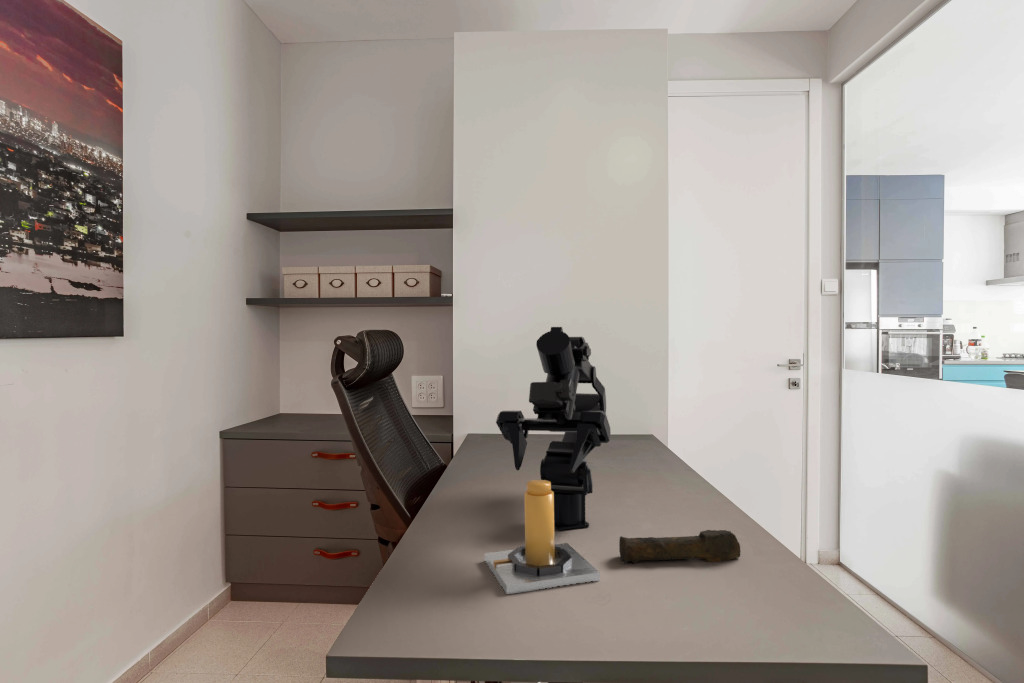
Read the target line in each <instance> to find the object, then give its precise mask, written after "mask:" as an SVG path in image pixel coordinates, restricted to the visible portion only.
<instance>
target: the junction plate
mask: <svg viewBox="0 0 1024 683" xmlns="http://www.w3.org/2000/svg"><path fill="white" fill-rule="evenodd" d="M554 544H555V543H554ZM485 561H486V562H485ZM484 562H485V564H486V563H487V564H488V565H487V564H486V565H487V567H488V566H489V567H488V569H489V570H490V569H491V570H490V572H491V573H492V572H493V573H492V575H493V574H494V575H495V576H494V575H493V576H494V578H495V577H496V578H497V579H496V578H495V579H496V581H497V580H498V581H499V582H498V581H497V582H498V584H499V583H500V584H499V585H500V587H501V586H502V587H503V588H502V587H501V588H502V590H503V589H504V590H503V591H504V593H505V594H506V595H512V594H518V593H520V594H521V593H525V592H527V593H528V592H533V591H539V589H540V590H546V589H545V588H547V589H553V588H558V587H557V586H560V587H564V586H563V585H567V586H570V585H569V584H573V585H577V584H576V583H580V584H585V582H587V583H592V582H591V581H593V582H599V580H600V581H601V579H600V578H601V575H600V574H601V573H600V571H599V570H598V569H597V568H596V567H595V566H593V565H592V564H591V563H590V562H589V561H588V560H587V559H585V558H584V556H582V555H581V554H580V553H579V552H578V551H576V549H575V548H573V547H572V546H571V545H570V544H569V543H567V542H565V543H564V542H563V543H558V544H557V543H556V544H555V564H551V565H543V566H535V565H530V564H526V561H525V545H521V546H518V547H516V548H515V549H509V550H508V549H507V550H501V551H493V552H485V553H484ZM552 587H553V588H552Z"/></svg>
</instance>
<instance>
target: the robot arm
mask: <svg viewBox="0 0 1024 683" xmlns="http://www.w3.org/2000/svg"><path fill="white" fill-rule="evenodd" d="M536 348H537V351H538V352H537V353H538V356H539V360H540V363H541V367H542V371H543V372H544V373H545V374H546V379H545V381H532V382H530V386H529V395H528V402H529V403H530V404H531V405H533V408H532V411H533V413H534V415H537V417H536V418H534V417H532V418H531V417H529V418H526V417H525V416H524V414H523V412H522V410H502V411H500V412H499V413H498V415H497V418H496V421H495V424H496V425H497V427H498V429H499V431H500V432H501V434H502V436H503V438H504V440H506V441H508V442H509V443H510V444H511V445H512V452H513V453H512V454H513V463H514V468H515V470H516V471H520V469H521V467H522V464H523V461H524V456H525V453H526V450H527V446H528V441H527V440H526V439H527V438H528V436H529V431H531V432H535V431H536V432H538V431H542V432H550V433H563V437H562V439H561V441H559V440H558V441H557V440H552V441H551V442H550V443H549V444H548V448H547V450H546V451H545V452H546V454H545V455H544V458H542V459H541V461H540V467H539V472H540V473H539V475H540V480H547V481H550V482H551V491H553V492H554V530H556V531H563V530H571V529H579V528H588V527H589V528H590V523H589V522H588V521H587V520H586V496H587V495H588V494H593V493H594V490H593V488H594V485H593V477H592V476H593V475H592V470H591V469H590V466H589V463H588V461H586V459H587V458H586V457H587V456H588V455H589V454H590V453H592V451H593V450H594V449H595V448H596V447H597V448H598V447H601V446H602V444H608V443H609V442H610V440H611V426H610V423H609V419H608V416H607V396H606V388H605V386H604V385H603V384H602V382H601V381H600V380H599V377H597V369H596V368H597V367H596V366H593V364H591V363H590V356H591V355H592V349H591V348H590V345H589V342H586V339H585V337H584V336H569V335H568V334H567V333H566V332H564V329H563V327H562V326H551V327H550V331H547V332H545V333H543V334H542V335H541V336H539V337H538V339H537V340H536ZM579 384H591V386H592V388H593V389H594V390H595V392H596V393H583V392H582V393H577V390H578V386H579Z"/></svg>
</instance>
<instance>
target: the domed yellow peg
mask: <svg viewBox="0 0 1024 683" xmlns="http://www.w3.org/2000/svg"><path fill="white" fill-rule="evenodd" d="M524 543H525V544H524V546H525V561H526V564H530V565H535V566H543V565H551V564H555V528H554V492H553V491H551V482H550V481H547V480H541V479H531V480H528V481H526V490H525V491H524Z"/></svg>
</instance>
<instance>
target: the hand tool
mask: <svg viewBox="0 0 1024 683" xmlns="http://www.w3.org/2000/svg"><path fill="white" fill-rule="evenodd" d="M618 542H619V546H618V547H619V556H620V560H621V562H622V563H623V562H624V563H623V564H627V563H628V562H633V563H634V564H636V563H637V562H639V561H656V560H657V561H660V560H662V561H663V560H685V559H689V560H690V559H701V560H702V561H704V562H706V563H716V562H725V561H730V560H734V559H738V558H740V557H741V544H740V542H739V541H738V538H737V537H736V534H734V533H733V532H732V531H730V530H725V529H723V530H722V529H720V530H716V529H715V530H712V529H706V530H701V531H700V532H699V534H698V535H690V536H665V537H664V536H663V537H653V536H649V537H624V536H622V535H621V536H619V541H618Z"/></svg>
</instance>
